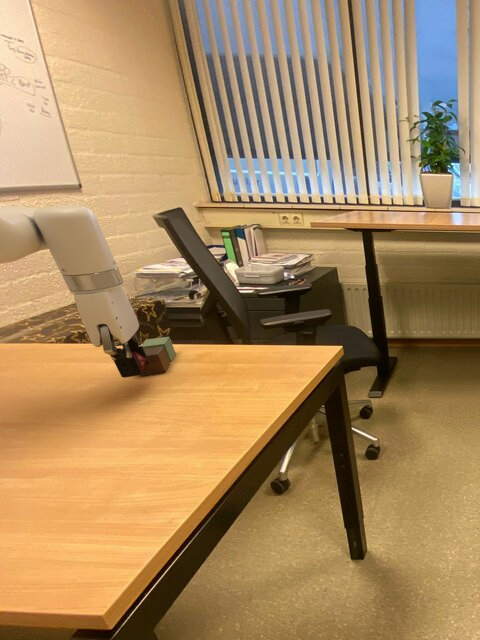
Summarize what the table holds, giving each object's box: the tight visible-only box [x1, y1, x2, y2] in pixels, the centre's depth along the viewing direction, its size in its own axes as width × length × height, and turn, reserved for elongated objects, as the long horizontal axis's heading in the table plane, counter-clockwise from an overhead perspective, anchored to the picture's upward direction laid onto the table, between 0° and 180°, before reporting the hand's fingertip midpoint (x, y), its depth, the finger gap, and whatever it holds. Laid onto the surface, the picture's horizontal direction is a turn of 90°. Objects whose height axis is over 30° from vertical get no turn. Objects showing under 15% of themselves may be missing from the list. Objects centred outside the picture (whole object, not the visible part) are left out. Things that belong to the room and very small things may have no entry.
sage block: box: [140, 336, 177, 363], centre depth 96 cm, size 4×4×4 cm
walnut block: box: [139, 346, 171, 377], centre depth 91 cm, size 4×4×4 cm
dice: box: [131, 352, 147, 370], centre depth 82 cm, size 4×4×4 cm
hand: (136, 369), depth 83 cm, fingers closed on dice, 4 cm apart
